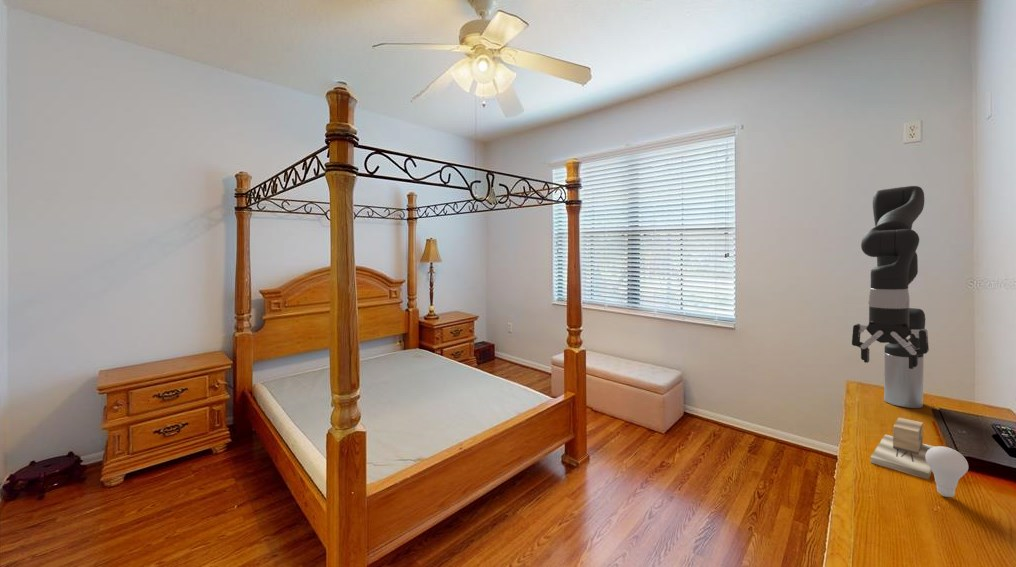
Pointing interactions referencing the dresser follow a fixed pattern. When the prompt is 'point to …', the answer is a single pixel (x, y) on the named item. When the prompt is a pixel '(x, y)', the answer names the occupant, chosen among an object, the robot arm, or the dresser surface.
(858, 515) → the dresser surface
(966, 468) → the lightbulb
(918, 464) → the board
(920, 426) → the block
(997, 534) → the dresser surface
